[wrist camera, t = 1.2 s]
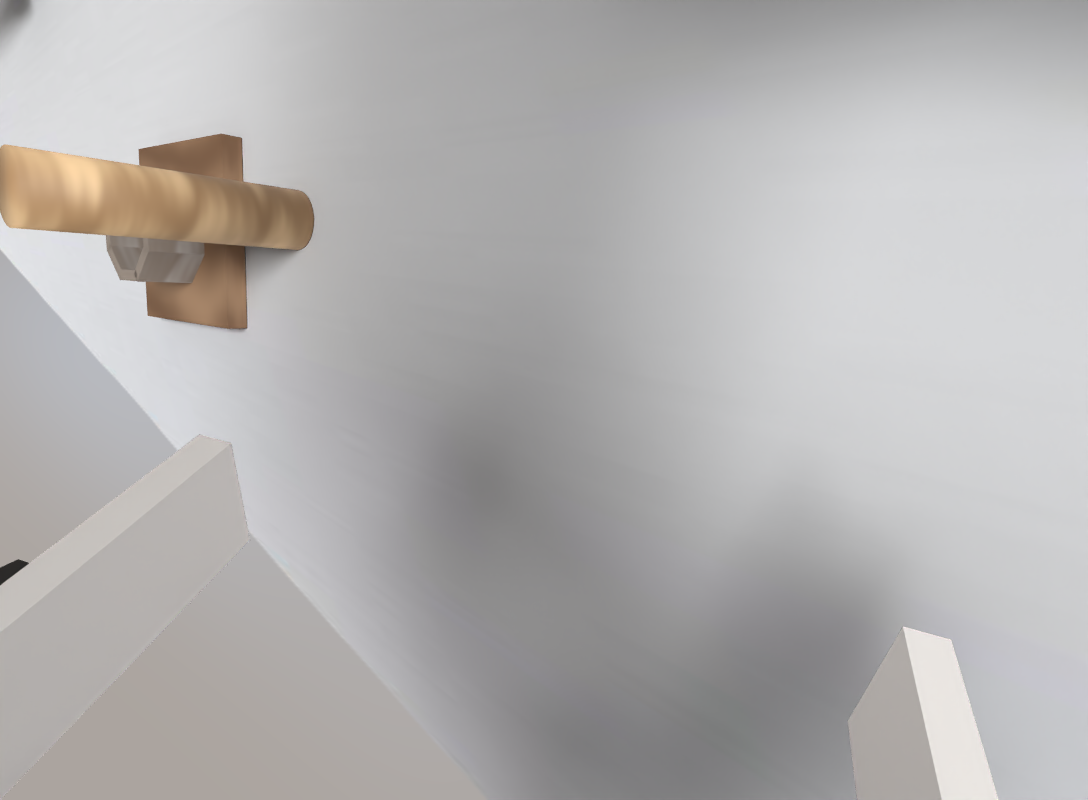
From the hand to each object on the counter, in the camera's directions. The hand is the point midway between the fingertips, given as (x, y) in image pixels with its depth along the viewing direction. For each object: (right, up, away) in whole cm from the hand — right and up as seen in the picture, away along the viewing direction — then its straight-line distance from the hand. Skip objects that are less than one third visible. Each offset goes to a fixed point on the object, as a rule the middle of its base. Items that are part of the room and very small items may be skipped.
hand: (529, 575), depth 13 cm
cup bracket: (-28, +17, +41) cm, 53 cm away
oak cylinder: (-17, +16, +33) cm, 40 cm away
